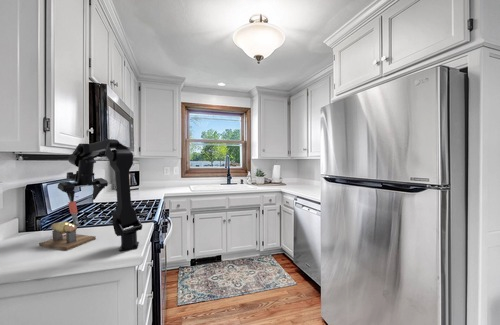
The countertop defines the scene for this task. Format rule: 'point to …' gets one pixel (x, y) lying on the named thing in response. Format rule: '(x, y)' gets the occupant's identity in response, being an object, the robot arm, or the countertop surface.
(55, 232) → the valve body
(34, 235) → the countertop surface
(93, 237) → the mounting board
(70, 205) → the valve lever
